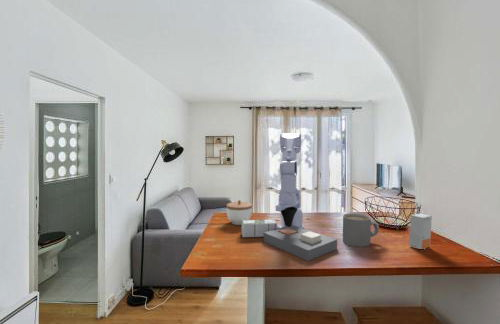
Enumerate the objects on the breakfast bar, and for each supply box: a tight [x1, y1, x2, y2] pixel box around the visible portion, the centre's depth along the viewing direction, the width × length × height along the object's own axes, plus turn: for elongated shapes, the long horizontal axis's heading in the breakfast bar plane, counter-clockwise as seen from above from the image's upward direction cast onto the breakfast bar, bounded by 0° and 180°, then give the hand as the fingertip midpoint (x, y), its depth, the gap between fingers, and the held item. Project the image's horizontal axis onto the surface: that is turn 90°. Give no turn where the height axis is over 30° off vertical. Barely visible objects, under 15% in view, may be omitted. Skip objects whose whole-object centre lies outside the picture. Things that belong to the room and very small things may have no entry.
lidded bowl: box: [225, 199, 253, 226], centre depth 123 cm, size 13×13×11 cm
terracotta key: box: [279, 228, 297, 236], centre depth 99 cm, size 5×5×4 cm
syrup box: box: [241, 219, 278, 238], centre depth 106 cm, size 6×6×14 cm
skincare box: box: [409, 213, 433, 250], centre depth 92 cm, size 6×4×12 cm
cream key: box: [301, 230, 321, 244], centre depth 90 cm, size 5×5×4 cm
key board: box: [263, 225, 338, 262], centre depth 95 cm, size 16×22×4 cm
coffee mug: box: [342, 212, 380, 248], centre depth 97 cm, size 13×10×10 cm
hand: (288, 226), depth 99 cm, fingers closed
